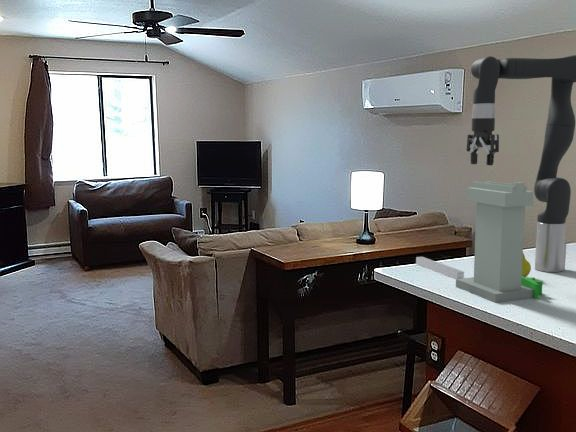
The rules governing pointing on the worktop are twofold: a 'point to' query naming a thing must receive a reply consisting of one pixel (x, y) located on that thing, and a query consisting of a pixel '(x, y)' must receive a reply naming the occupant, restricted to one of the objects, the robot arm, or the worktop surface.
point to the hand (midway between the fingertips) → (481, 164)
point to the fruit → (525, 267)
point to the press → (498, 241)
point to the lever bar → (440, 268)
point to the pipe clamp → (533, 286)
